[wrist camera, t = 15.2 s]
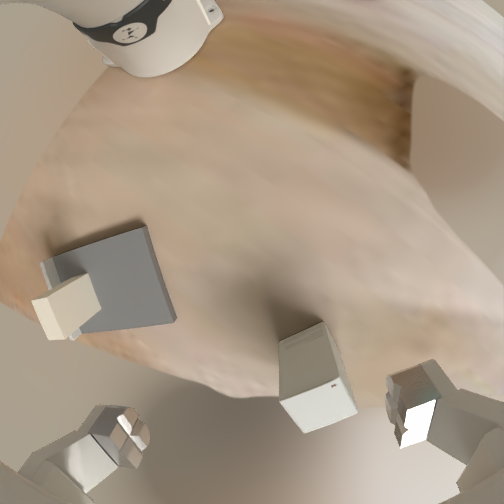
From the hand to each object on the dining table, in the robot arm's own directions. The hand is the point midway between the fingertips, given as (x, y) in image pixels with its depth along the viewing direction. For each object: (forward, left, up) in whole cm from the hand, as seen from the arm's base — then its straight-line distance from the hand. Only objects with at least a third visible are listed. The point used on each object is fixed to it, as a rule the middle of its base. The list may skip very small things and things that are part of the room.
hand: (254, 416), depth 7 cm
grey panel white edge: (+2, -26, -29) cm, 39 cm away
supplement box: (+18, +2, -29) cm, 34 cm away
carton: (+2, -30, -28) cm, 41 cm away
